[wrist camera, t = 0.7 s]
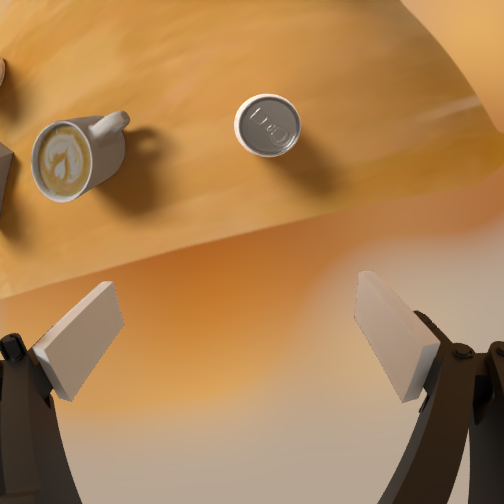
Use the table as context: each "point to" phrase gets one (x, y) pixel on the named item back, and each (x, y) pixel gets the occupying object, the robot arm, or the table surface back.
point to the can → (267, 125)
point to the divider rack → (4, 169)
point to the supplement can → (2, 70)
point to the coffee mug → (78, 154)
